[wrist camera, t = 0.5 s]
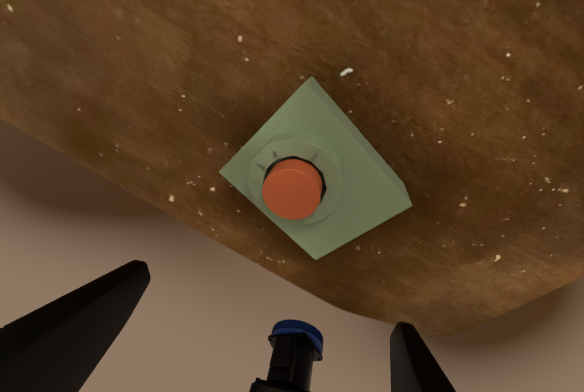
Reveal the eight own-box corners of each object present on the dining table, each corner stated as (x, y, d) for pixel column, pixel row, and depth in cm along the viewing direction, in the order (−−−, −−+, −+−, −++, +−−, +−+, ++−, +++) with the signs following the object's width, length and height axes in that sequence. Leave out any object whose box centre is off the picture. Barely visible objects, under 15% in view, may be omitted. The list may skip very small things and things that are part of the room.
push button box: (404, 183, 23) (417, 220, 18) (319, 235, 27) (313, 275, 23) (311, 75, 20) (300, 86, 15) (235, 155, 24) (208, 182, 20)
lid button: (333, 187, 18) (332, 200, 17) (294, 215, 20) (290, 228, 19) (295, 147, 17) (290, 157, 16) (257, 180, 19) (250, 192, 18)
